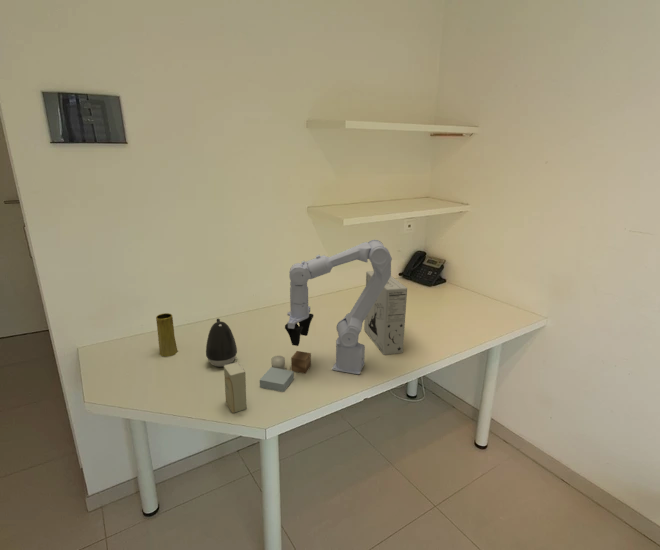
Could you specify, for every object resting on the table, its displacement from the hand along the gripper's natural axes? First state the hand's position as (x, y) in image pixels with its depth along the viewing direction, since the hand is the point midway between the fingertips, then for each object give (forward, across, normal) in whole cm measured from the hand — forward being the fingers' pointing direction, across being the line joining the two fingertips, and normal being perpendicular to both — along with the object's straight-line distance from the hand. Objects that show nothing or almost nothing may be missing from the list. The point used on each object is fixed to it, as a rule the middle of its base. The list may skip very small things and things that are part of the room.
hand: (299, 339), depth 133 cm
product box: (+11, -29, +22) cm, 38 cm away
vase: (+10, +6, -49) cm, 50 cm away
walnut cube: (+10, 0, 0) cm, 11 cm away
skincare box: (+10, +25, -9) cm, 29 cm away
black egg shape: (+10, +5, -27) cm, 29 cm away
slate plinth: (+11, +11, -4) cm, 16 cm away
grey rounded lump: (+10, +3, -7) cm, 13 cm away
